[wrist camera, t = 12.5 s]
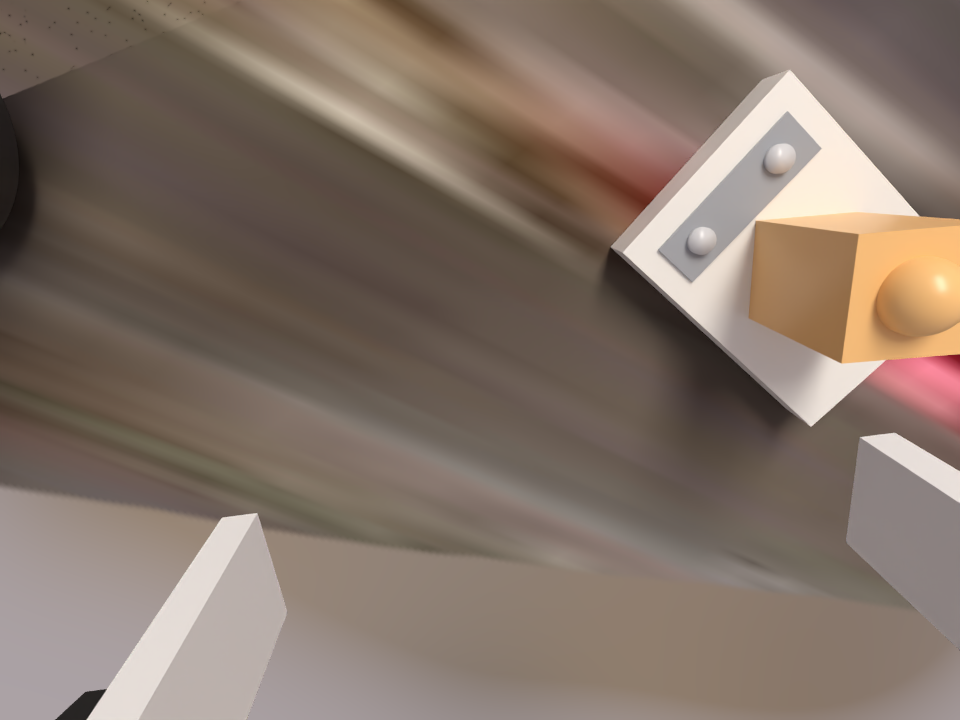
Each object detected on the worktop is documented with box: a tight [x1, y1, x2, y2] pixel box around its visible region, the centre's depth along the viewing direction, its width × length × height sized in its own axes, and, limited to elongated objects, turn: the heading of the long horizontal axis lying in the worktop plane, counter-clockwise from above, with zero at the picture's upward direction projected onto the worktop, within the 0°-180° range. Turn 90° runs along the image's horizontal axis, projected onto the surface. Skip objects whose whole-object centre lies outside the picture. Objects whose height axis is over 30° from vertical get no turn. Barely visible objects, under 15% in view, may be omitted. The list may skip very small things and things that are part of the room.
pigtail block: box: [611, 70, 920, 426], centre depth 33 cm, size 18×13×7 cm
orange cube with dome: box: [749, 212, 960, 364], centre depth 28 cm, size 6×6×11 cm
